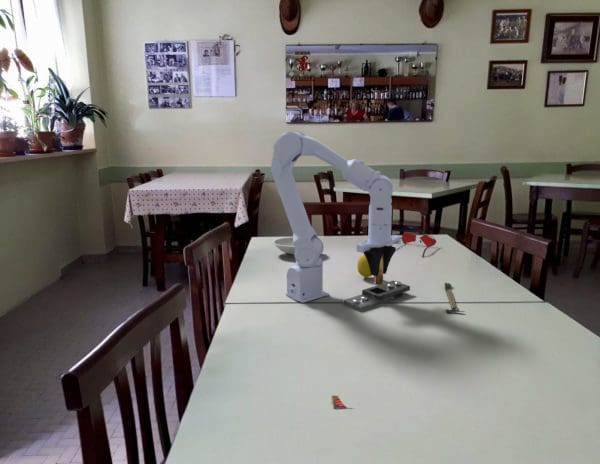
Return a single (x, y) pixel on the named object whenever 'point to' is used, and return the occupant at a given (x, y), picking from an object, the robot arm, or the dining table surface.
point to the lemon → (363, 267)
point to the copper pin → (380, 272)
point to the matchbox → (337, 402)
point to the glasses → (425, 238)
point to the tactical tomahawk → (451, 300)
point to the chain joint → (376, 295)
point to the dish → (285, 244)
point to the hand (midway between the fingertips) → (378, 274)
